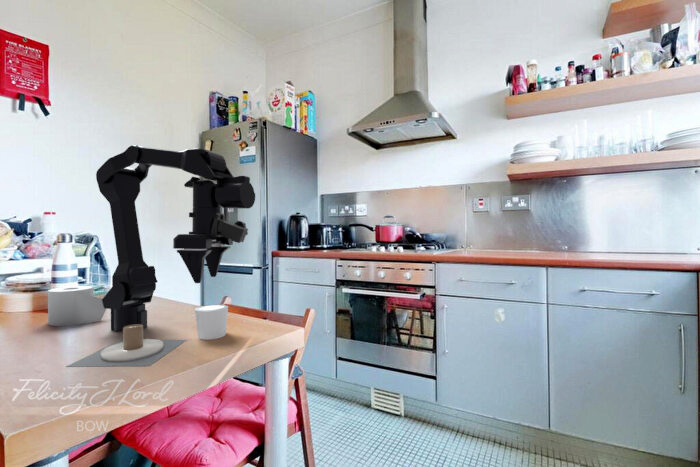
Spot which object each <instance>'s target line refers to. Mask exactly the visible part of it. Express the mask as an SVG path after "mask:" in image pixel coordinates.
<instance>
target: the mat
mask: <svg viewBox="0 0 700 467" xmlns="http://www.w3.org/2000/svg"><path fill="white" fill-rule="evenodd" d="M160 340H161V341H162V342H163V349H162V350H161V351H160V352H158V353H156V354H153V355H151V356H148V357H144V358H140V359H136V360H130V361H120V362H111V361H105V360H102V359H101V352H102V350H104V349H105V348H107V347H109V346H112V345H115V344H118V343H122V342H123V339H120V340H118V341H115V342H114V343H111V344H109V345H107V346H106V347H103V348H102V349H99V350H97V351H95V352H93V353H91V354H89V355H87V356H85V357H83V358H81V359H79V360H76V361H75V362H72V363H69V365H67V366H65V367H66V368H80V367H81V368H85V367H86V368H89V367H91V368H92V367H94V368H96V367H97V368H98V367H99V368H100V367H101V368H102V367H103V368H106V367H107V368H108V367H111V368H112V367H116V368H117V367H150V366H152V365H153V364H155V363H156V362H158V361H160V360H161V359H162V358H163V357H165V356H166V355H168V354H169V353H171V352H172V351H173V350H175V349H176V348H178V347H179V346H180V345H182V344H184V343H186V341H187V339H160Z"/></svg>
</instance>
